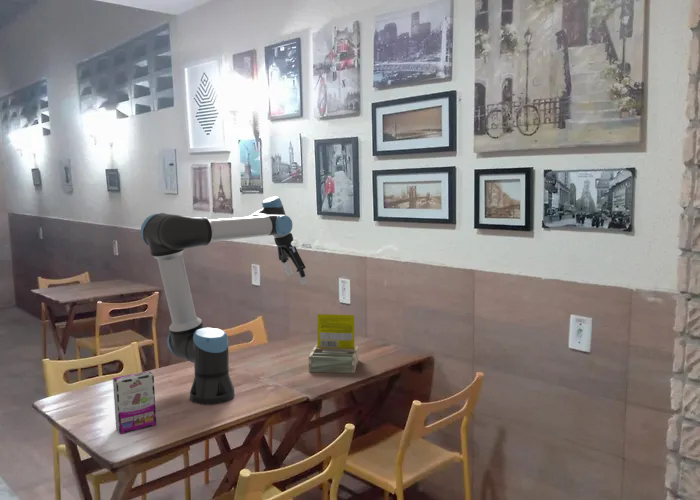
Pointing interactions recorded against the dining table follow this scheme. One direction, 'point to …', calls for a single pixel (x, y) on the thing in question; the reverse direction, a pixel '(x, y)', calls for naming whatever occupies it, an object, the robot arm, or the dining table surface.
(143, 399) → the candy bar box
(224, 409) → the dining table surface
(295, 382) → the dining table surface
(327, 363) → the rack
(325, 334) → the food package
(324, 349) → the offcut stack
